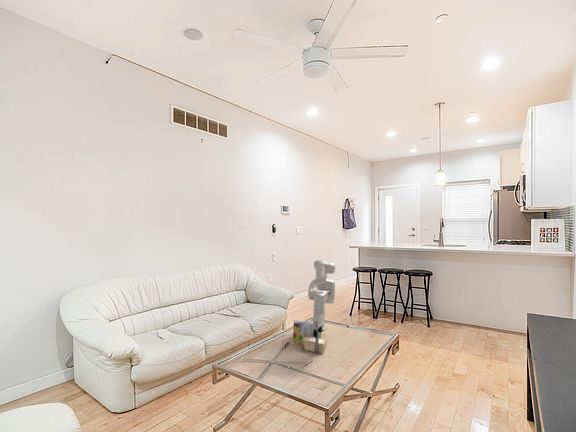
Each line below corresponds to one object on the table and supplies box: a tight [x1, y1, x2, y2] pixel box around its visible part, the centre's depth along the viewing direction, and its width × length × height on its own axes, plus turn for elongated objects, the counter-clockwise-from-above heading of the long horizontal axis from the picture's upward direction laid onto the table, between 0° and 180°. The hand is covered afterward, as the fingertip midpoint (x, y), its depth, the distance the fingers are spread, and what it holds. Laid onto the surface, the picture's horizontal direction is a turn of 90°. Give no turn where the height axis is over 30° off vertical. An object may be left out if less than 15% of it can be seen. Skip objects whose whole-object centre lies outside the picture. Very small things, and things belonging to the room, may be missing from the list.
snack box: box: [292, 320, 322, 343], centre depth 242 cm, size 21×6×15 cm, turn 84°
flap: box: [301, 336, 319, 354], centre depth 227 cm, size 12×3×12 cm, turn 67°
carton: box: [301, 336, 328, 354], centre depth 231 cm, size 8×16×7 cm, turn 67°
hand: (317, 334), depth 224 cm, fingers open, 9 cm apart
